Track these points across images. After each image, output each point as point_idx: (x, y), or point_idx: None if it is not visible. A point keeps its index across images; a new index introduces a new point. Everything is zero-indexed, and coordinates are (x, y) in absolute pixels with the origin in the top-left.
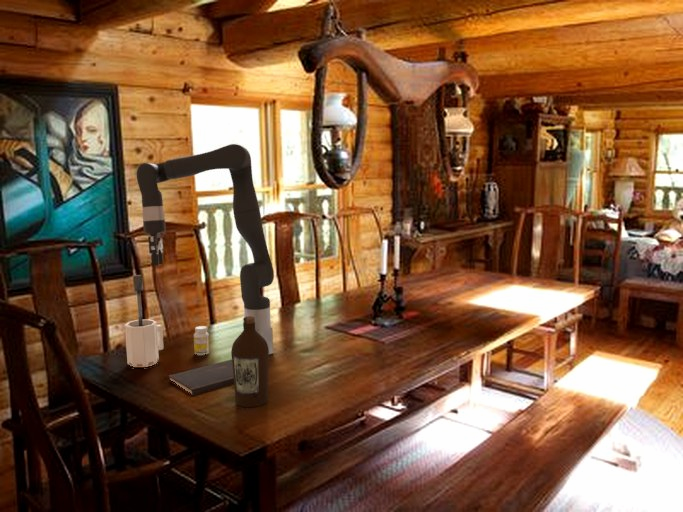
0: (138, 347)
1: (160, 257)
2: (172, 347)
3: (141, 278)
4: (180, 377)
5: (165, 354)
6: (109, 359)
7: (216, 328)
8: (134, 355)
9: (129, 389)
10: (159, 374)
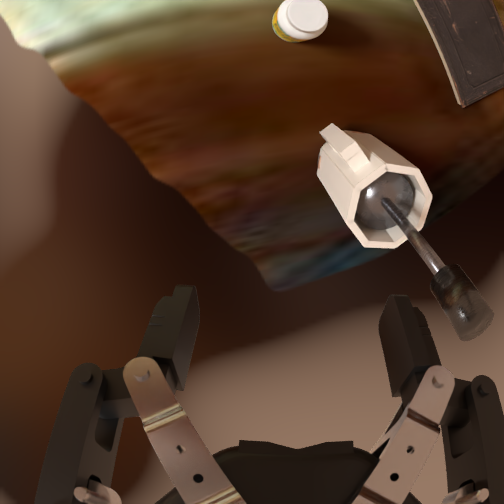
0: None
1: (184, 340)
2: (224, 108)
3: (485, 301)
4: (476, 87)
5: (285, 118)
6: (295, 239)
7: (57, 32)
8: None
9: (468, 173)
10: (422, 123)
